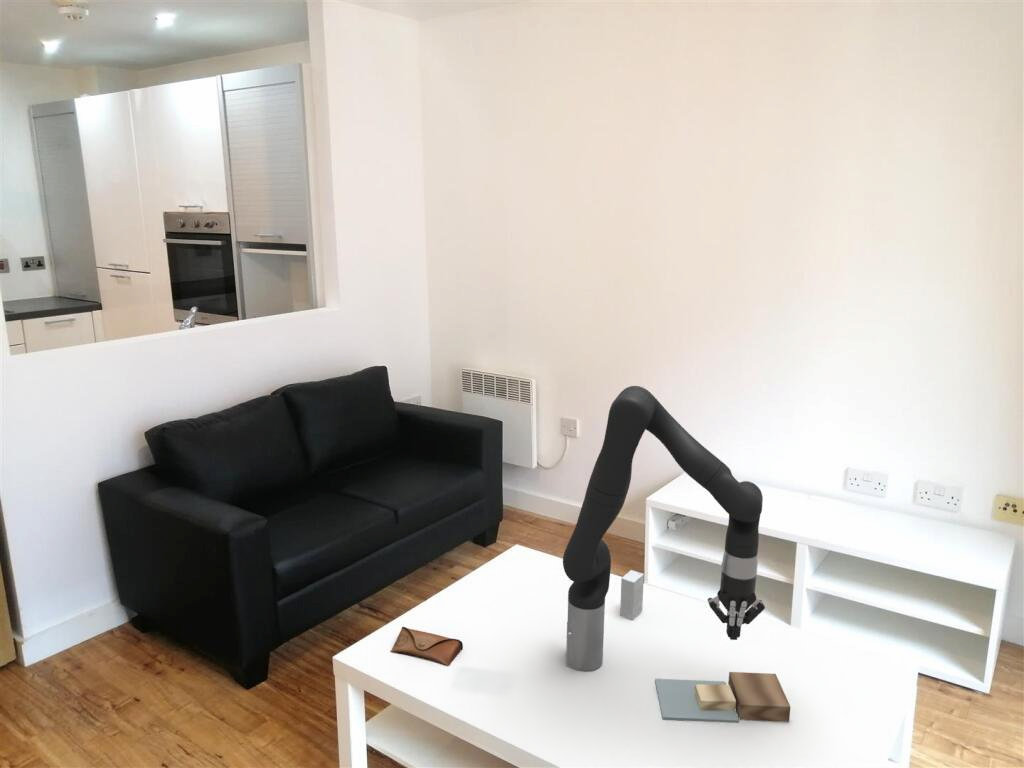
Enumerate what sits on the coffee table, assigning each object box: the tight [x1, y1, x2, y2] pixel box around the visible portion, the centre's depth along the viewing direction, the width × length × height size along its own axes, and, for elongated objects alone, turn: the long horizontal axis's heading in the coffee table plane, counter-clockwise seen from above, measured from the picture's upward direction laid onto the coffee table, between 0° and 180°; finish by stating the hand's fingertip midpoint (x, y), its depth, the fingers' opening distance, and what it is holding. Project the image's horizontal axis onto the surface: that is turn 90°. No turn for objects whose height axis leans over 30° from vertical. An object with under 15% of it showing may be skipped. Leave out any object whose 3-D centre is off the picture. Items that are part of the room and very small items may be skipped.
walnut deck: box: [727, 671, 792, 723], centre depth 175 cm, size 11×12×4 cm
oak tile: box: [695, 684, 736, 711], centre depth 175 cm, size 8×6×2 cm
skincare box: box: [619, 569, 645, 621], centre depth 212 cm, size 6×4×12 cm
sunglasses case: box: [389, 626, 464, 667], centre depth 196 cm, size 18×7×7 cm
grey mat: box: [654, 678, 740, 724], centre depth 177 cm, size 17×14×1 cm
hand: (732, 637), depth 172 cm, fingers closed
